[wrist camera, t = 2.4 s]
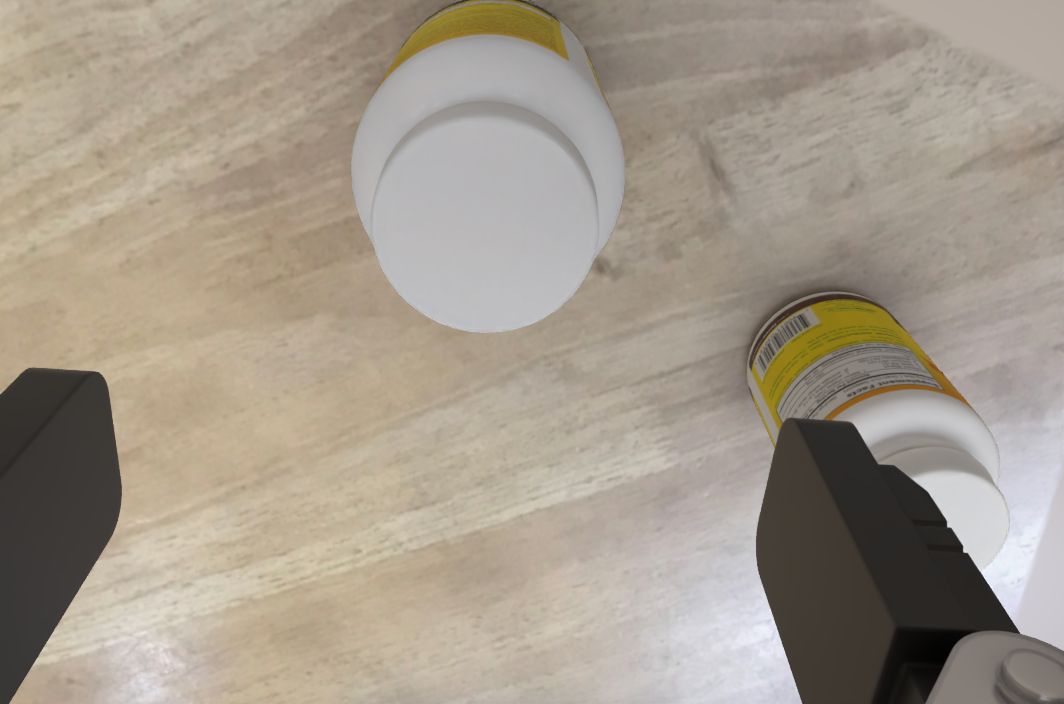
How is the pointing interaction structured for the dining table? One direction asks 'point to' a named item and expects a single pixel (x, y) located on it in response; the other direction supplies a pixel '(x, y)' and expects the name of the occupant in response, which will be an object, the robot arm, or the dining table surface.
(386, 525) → the dining table surface
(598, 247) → the pill bottle
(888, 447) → the supplement bottle
